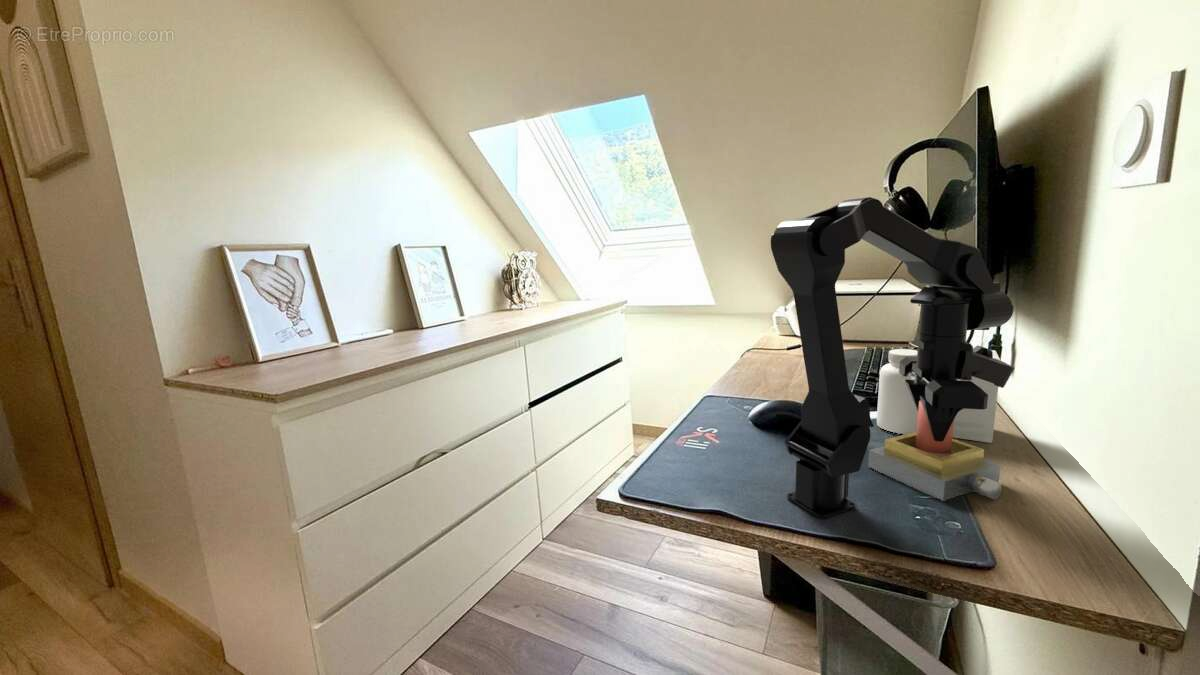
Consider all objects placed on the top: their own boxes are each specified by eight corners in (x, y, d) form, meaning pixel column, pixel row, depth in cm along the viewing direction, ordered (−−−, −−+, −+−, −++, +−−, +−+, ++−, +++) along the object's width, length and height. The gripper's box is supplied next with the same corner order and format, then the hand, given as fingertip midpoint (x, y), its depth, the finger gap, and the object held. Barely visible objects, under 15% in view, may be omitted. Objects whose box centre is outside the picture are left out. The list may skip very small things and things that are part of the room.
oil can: (937, 456, 73) (942, 407, 71) (908, 445, 77) (912, 399, 76) (958, 450, 74) (962, 402, 73) (928, 439, 78) (932, 394, 77)
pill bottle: (883, 435, 92) (888, 356, 89) (871, 420, 100) (875, 347, 97) (932, 437, 90) (938, 356, 87) (915, 422, 98) (921, 347, 95)
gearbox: (965, 512, 66) (969, 477, 65) (867, 467, 80) (869, 438, 79) (1022, 491, 70) (1026, 458, 69) (920, 452, 84) (922, 424, 83)
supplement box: (993, 444, 86) (1002, 360, 83) (931, 435, 91) (938, 355, 88) (989, 427, 93) (997, 349, 91) (932, 420, 98) (938, 345, 96)
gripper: (1043, 348, 61) (1029, 466, 64) (982, 323, 79) (972, 417, 81) (938, 346, 65) (928, 458, 68) (901, 322, 82) (895, 413, 85)
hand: (933, 435), depth 75 cm, fingers closed on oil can, 4 cm apart
